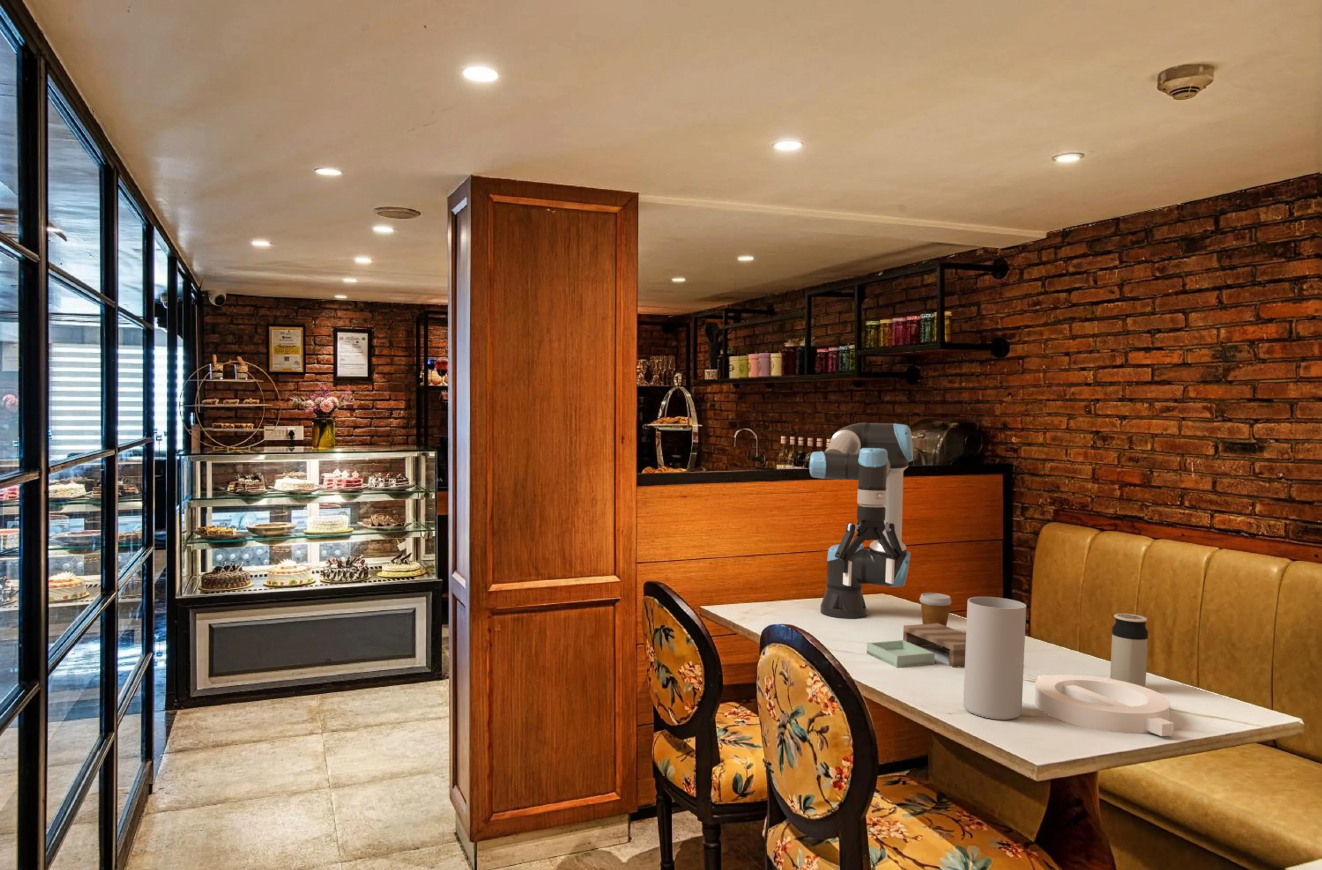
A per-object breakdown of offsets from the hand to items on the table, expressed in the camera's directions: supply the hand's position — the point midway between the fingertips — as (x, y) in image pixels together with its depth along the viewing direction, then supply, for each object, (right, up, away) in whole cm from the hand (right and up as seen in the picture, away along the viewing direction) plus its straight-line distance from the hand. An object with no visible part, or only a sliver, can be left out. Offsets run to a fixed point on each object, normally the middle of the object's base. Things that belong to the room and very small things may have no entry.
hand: (868, 584), depth 244 cm
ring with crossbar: (+45, -24, -35) cm, 62 cm away
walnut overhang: (+24, -22, +10) cm, 34 cm away
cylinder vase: (+20, -23, -37) cm, 48 cm away
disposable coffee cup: (+28, -21, +33) cm, 48 cm away
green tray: (+10, -21, +5) cm, 24 cm away
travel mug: (+62, -24, -16) cm, 68 cm away
